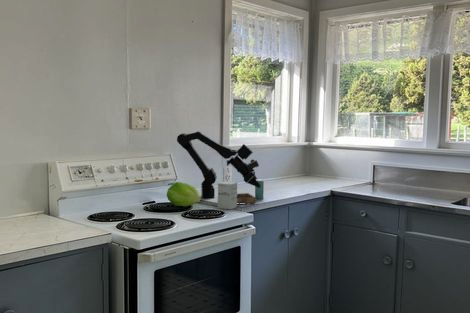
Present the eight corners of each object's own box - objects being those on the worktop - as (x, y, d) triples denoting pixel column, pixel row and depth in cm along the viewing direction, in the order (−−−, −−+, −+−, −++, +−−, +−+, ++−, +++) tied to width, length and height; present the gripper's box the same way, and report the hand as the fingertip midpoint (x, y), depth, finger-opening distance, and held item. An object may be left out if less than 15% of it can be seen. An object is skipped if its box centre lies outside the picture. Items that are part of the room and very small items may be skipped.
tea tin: (255, 198, 254) (255, 180, 253) (255, 197, 259) (255, 179, 258) (263, 198, 254) (263, 180, 253) (263, 197, 258) (263, 179, 257)
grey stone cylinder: (217, 208, 230) (217, 183, 229) (224, 205, 237) (224, 180, 236) (230, 209, 227) (230, 184, 226) (237, 207, 234) (237, 182, 232)
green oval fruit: (187, 212, 220) (187, 187, 219) (162, 206, 235) (161, 182, 233) (209, 208, 230) (209, 184, 229) (183, 202, 244) (183, 179, 243)
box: (231, 204, 238) (231, 199, 238) (225, 199, 251) (224, 194, 250) (255, 203, 242) (255, 197, 241) (248, 198, 254) (248, 193, 254)
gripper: (250, 157, 245) (271, 178, 245) (250, 153, 263) (269, 172, 264) (235, 171, 246) (256, 192, 247) (236, 167, 264) (255, 186, 265)
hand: (259, 185), depth 256 cm, fingers open, 9 cm apart
